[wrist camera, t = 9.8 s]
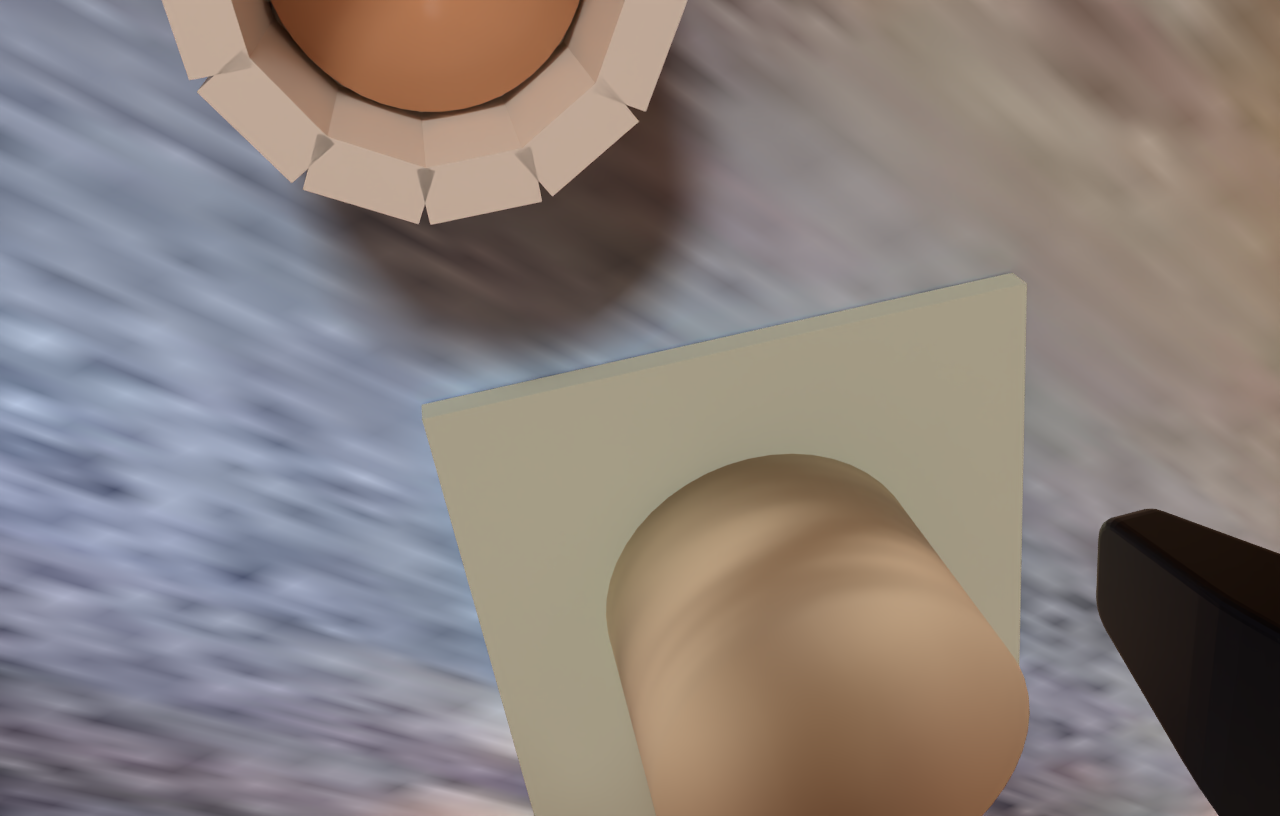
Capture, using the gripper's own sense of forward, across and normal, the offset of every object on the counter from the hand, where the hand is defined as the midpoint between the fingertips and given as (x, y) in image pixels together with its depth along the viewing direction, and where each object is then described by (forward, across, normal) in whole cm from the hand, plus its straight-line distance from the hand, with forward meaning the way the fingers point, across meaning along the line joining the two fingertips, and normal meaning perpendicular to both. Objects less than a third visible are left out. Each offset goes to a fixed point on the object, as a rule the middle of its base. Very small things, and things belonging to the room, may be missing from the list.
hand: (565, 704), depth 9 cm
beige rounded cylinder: (+12, -4, +10) cm, 16 cm away
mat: (+13, -4, +10) cm, 16 cm away
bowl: (+13, 0, -4) cm, 14 cm away
